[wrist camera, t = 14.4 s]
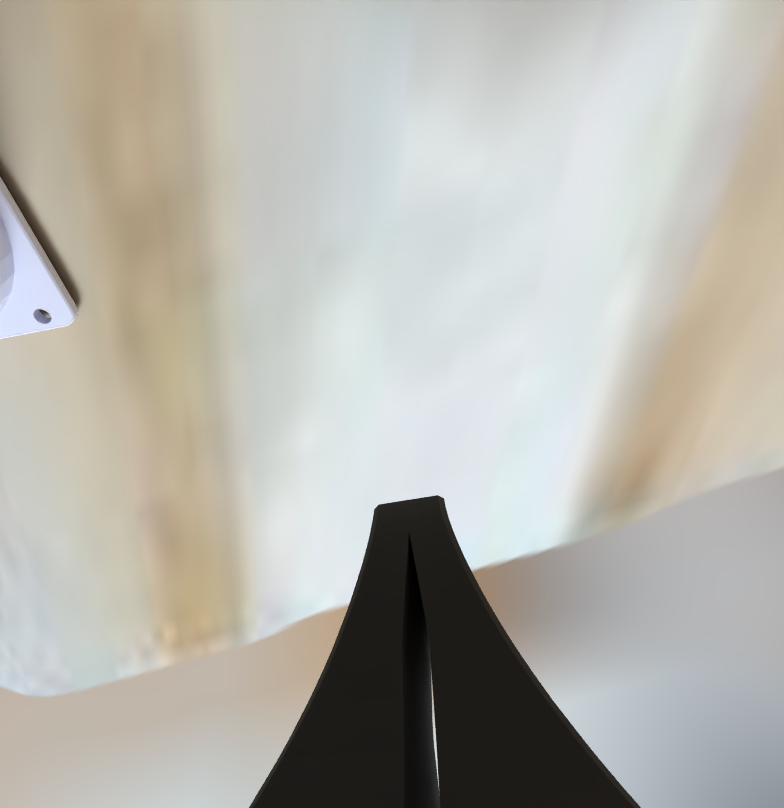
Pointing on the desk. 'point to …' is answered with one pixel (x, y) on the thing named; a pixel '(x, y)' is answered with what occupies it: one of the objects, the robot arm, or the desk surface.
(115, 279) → the desk surface
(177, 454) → the desk surface
